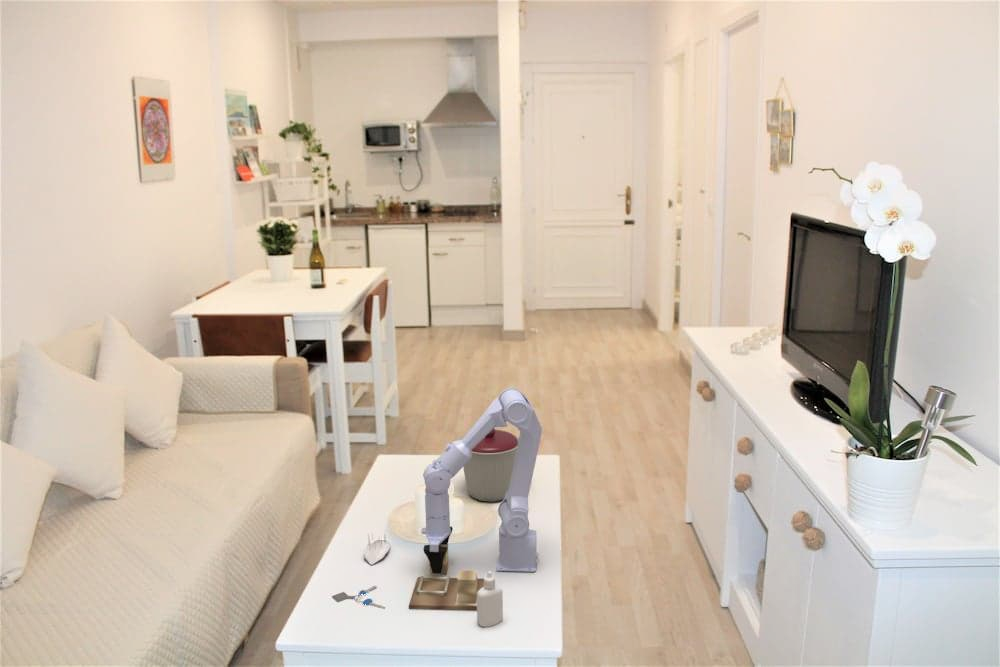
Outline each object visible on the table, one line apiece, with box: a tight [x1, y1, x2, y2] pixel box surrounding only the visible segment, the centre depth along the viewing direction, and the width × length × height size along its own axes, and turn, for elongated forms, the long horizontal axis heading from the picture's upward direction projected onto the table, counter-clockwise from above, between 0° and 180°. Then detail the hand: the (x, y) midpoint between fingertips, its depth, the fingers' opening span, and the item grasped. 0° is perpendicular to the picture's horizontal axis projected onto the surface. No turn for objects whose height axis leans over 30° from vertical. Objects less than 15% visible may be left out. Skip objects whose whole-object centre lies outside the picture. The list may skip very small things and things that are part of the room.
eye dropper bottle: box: [476, 570, 504, 628], centre depth 180 cm, size 4×6×12 cm
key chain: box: [331, 585, 386, 610], centre depth 193 cm, size 14×8×1 cm, turn 75°
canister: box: [459, 427, 519, 503], centre depth 243 cm, size 18×18×21 cm
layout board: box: [408, 569, 484, 612], centre depth 191 cm, size 16×12×7 cm
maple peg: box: [429, 543, 449, 576], centre depth 202 cm, size 4×4×6 cm
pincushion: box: [363, 532, 391, 565], centre depth 211 cm, size 12×6×6 cm, turn 175°
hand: (439, 564), depth 203 cm, fingers open, 7 cm apart
